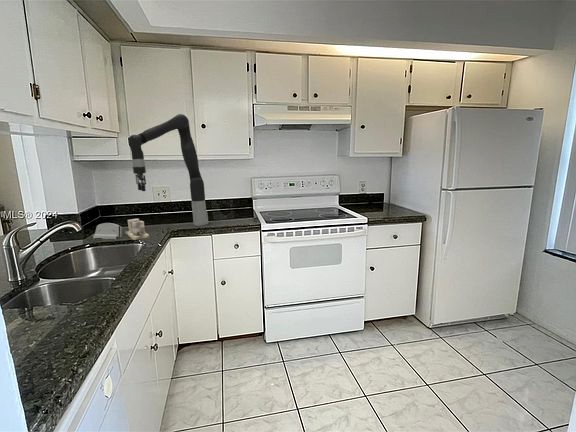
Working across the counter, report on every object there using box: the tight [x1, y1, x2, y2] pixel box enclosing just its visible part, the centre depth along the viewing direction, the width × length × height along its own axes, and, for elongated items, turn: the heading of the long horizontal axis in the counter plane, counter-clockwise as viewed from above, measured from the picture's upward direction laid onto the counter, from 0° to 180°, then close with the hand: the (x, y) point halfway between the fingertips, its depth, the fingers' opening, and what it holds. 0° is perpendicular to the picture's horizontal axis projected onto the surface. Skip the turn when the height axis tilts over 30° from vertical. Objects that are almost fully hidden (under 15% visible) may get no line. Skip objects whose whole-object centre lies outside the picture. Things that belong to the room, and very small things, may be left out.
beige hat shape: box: [124, 220, 150, 241], centre depth 197 cm, size 9×20×10 cm, turn 39°
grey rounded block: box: [92, 222, 123, 240], centre depth 195 cm, size 17×5×10 cm, turn 78°
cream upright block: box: [127, 218, 140, 233], centre depth 200 cm, size 6×4×8 cm, turn 129°
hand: (141, 190), depth 211 cm, fingers open, 8 cm apart
